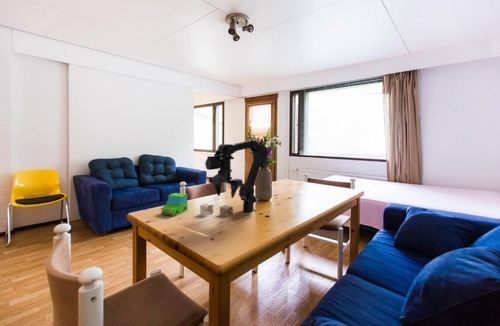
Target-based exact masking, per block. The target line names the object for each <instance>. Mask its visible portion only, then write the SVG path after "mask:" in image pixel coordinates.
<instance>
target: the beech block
mask: <svg viewBox="0 0 500 326" xmlns="http://www.w3.org/2000/svg"><path fill="white" fill-rule="evenodd" d="M199 209H200V210H199V211H200V212H199V213H200V214H202V215H206V216H208V215H210V216H212V215H211V214H213V213H214V204H212V203H207V202H206V203H202V204H200V205H199ZM202 215H201V216H202ZM213 215H214V214H213ZM206 216H205V217H206ZM208 217H209V216H208Z"/></svg>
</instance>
